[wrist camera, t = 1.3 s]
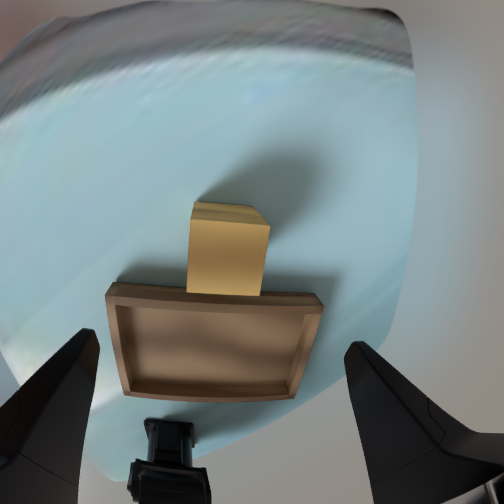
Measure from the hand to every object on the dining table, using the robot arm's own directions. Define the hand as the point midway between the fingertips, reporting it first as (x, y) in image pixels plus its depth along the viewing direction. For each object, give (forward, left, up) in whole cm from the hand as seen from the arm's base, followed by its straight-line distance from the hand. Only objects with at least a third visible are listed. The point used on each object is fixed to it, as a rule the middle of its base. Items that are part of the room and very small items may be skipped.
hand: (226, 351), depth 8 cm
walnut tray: (-11, -1, -14) cm, 18 cm away
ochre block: (0, -1, -14) cm, 14 cm away
